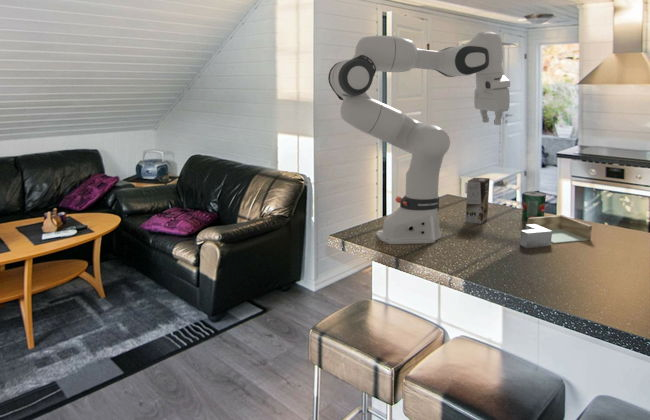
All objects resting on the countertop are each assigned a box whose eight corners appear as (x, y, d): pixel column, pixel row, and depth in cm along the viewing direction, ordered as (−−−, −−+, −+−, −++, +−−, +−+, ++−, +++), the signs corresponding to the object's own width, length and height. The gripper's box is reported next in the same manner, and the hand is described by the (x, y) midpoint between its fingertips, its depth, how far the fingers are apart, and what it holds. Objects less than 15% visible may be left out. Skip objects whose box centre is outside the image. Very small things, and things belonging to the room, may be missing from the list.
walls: (553, 243, 170) (555, 229, 169) (526, 231, 184) (527, 217, 183) (590, 240, 173) (592, 225, 172) (560, 228, 187) (562, 215, 186)
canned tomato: (547, 224, 193) (549, 195, 190) (525, 224, 193) (528, 195, 190) (538, 218, 201) (541, 191, 198) (518, 219, 201) (520, 191, 198)
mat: (553, 243, 170) (554, 242, 170) (526, 231, 184) (526, 230, 184) (590, 240, 173) (590, 239, 173) (560, 228, 187) (560, 227, 187)
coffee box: (481, 224, 195) (484, 182, 191) (464, 222, 198) (466, 180, 194) (488, 218, 202) (490, 178, 198) (471, 216, 206) (473, 176, 202)
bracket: (550, 245, 168) (552, 230, 167) (526, 248, 166) (527, 233, 165) (533, 238, 177) (535, 223, 175) (510, 240, 175) (511, 226, 173)
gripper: (468, 83, 183) (470, 122, 187) (493, 84, 164) (495, 127, 167) (485, 80, 184) (487, 119, 187) (512, 81, 164) (514, 124, 168)
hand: (491, 123), depth 177 cm, fingers open, 8 cm apart
